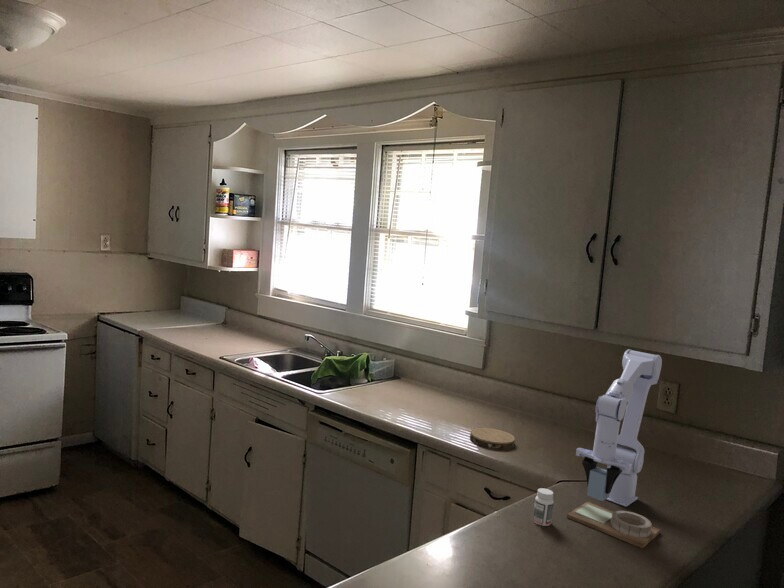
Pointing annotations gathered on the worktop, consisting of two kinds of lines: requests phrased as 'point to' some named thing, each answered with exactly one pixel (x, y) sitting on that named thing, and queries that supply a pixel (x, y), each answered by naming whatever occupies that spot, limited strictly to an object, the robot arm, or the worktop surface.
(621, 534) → the board
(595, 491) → the peg block
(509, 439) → the tan round disc
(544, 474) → the worktop surface
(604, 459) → the robot arm
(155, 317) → the worktop surface
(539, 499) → the pill bottle
